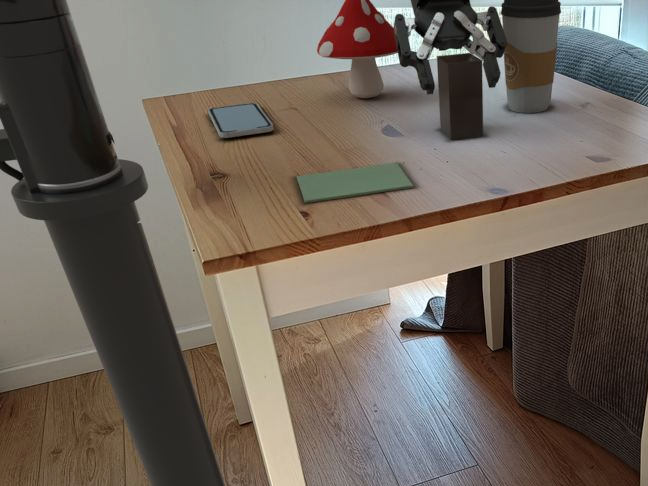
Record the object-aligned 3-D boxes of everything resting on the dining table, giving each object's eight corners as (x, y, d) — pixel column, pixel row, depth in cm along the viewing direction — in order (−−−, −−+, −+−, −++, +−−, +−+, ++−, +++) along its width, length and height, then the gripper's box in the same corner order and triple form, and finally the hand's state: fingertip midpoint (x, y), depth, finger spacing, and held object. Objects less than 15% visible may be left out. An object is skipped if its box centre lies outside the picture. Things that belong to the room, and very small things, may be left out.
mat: (305, 203, 74) (304, 200, 74) (296, 178, 80) (296, 176, 80) (413, 187, 77) (413, 185, 77) (397, 165, 83) (396, 162, 83)
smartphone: (256, 102, 106) (274, 126, 94) (257, 107, 106) (275, 132, 95) (206, 108, 104) (219, 133, 92) (208, 114, 104) (220, 140, 93)
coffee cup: (490, 105, 104) (489, -6, 95) (537, 96, 107) (540, -12, 98) (519, 118, 98) (520, 1, 89) (568, 109, 101) (574, -5, 92)
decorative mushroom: (417, 85, 115) (411, -16, 106) (406, 108, 104) (397, -3, 95) (334, 86, 116) (321, -14, 108) (314, 109, 105) (298, -1, 96)
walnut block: (450, 140, 90) (447, 63, 85) (440, 129, 94) (436, 55, 89) (483, 136, 91) (482, 60, 86) (471, 126, 95) (469, 52, 90)
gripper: (383, -41, 86) (412, 76, 83) (491, -48, 89) (523, 64, 86) (378, 1, 93) (405, 110, 90) (479, -7, 96) (507, 98, 94)
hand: (463, 87), depth 88 cm, fingers open, 8 cm apart
